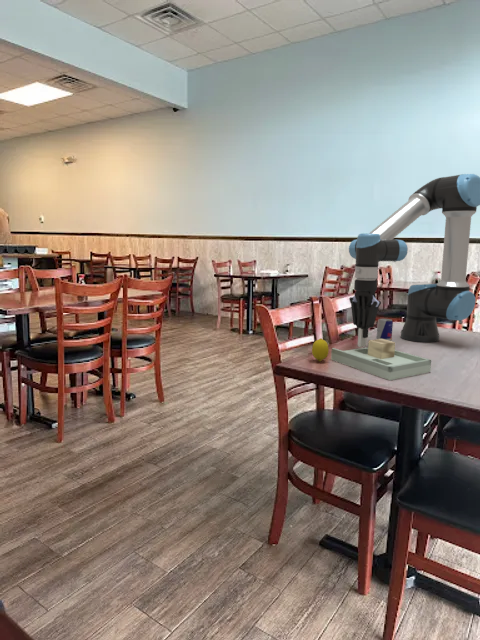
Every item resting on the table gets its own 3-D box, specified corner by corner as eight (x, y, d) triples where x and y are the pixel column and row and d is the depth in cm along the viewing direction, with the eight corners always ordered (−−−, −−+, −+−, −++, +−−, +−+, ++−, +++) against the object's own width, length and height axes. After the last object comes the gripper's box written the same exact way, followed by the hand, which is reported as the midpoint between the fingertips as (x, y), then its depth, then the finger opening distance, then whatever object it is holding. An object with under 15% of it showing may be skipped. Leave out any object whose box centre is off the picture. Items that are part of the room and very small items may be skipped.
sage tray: (369, 353, 163) (370, 342, 162) (430, 372, 141) (431, 359, 140) (331, 359, 154) (331, 348, 154) (389, 380, 132) (390, 367, 131)
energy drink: (391, 353, 163) (393, 321, 161) (376, 352, 164) (378, 320, 162) (389, 350, 168) (392, 318, 166) (375, 349, 169) (377, 318, 167)
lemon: (322, 358, 155) (323, 336, 154) (331, 362, 150) (332, 339, 149) (308, 360, 153) (309, 337, 152) (316, 364, 148) (317, 340, 147)
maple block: (380, 352, 154) (381, 338, 153) (394, 356, 149) (395, 342, 148) (367, 354, 151) (368, 340, 150) (381, 359, 146) (382, 344, 145)
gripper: (344, 278, 157) (341, 343, 161) (372, 281, 146) (367, 351, 150) (360, 277, 161) (356, 341, 165) (388, 280, 150) (383, 349, 154)
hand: (361, 346), depth 158 cm, fingers closed
